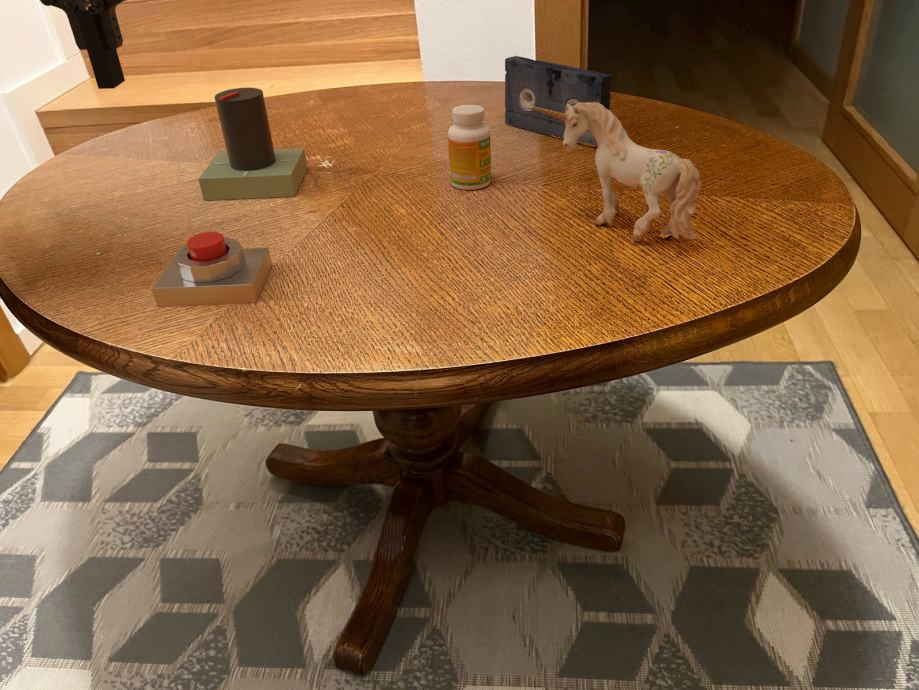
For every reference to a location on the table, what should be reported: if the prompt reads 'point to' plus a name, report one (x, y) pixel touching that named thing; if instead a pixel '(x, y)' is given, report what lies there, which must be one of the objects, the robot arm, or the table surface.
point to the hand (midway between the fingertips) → (111, 84)
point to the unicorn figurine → (633, 169)
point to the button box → (214, 278)
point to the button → (206, 246)
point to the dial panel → (254, 177)
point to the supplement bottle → (469, 148)
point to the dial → (245, 128)
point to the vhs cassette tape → (550, 94)
